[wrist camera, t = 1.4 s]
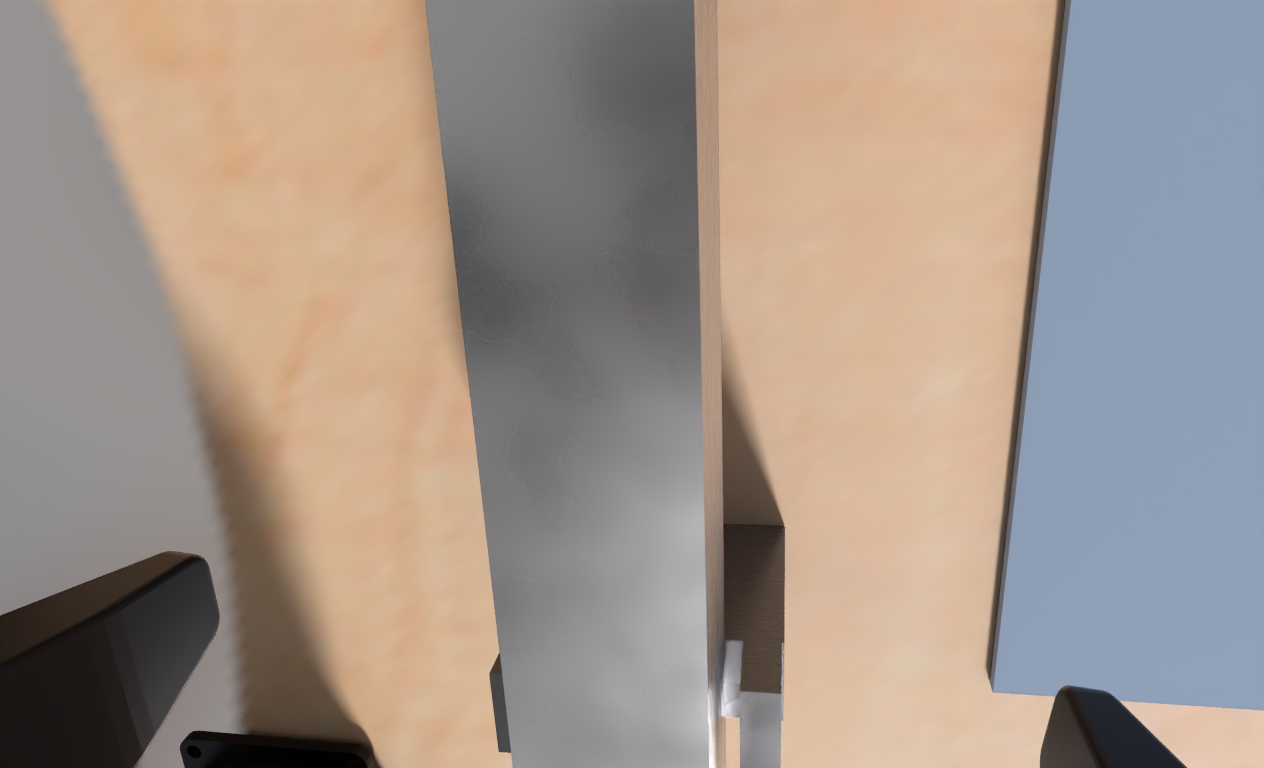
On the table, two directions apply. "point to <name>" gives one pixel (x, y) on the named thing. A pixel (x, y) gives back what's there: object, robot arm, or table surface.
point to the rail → (594, 363)
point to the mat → (1145, 368)
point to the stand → (735, 644)
